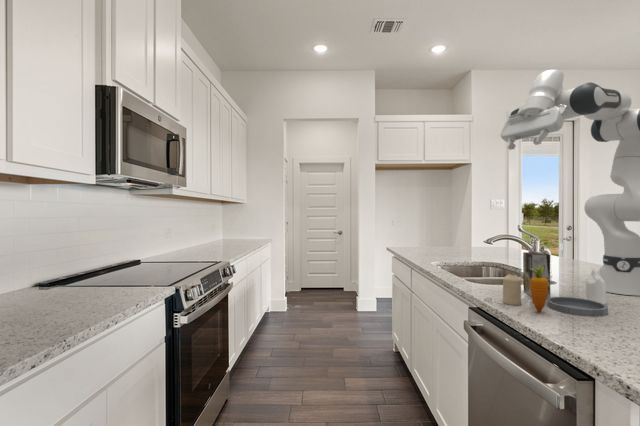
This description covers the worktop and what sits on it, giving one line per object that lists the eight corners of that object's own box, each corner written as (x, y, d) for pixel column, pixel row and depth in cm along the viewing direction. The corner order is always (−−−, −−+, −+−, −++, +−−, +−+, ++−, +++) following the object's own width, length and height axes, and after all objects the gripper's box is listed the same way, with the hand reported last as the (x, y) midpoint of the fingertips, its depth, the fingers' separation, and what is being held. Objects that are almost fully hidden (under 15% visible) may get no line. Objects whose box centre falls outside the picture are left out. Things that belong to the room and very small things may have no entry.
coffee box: (550, 298, 128) (550, 254, 128) (531, 297, 129) (531, 254, 129) (540, 292, 137) (540, 251, 137) (522, 291, 138) (522, 251, 138)
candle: (499, 301, 124) (499, 273, 124) (514, 300, 124) (514, 273, 124) (509, 305, 118) (509, 276, 118) (524, 305, 119) (524, 276, 119)
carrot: (542, 315, 107) (542, 267, 107) (526, 311, 111) (526, 265, 111) (551, 313, 109) (551, 266, 109) (535, 309, 114) (535, 264, 113)
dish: (550, 300, 125) (550, 294, 125) (607, 307, 115) (607, 301, 115) (544, 310, 113) (544, 304, 113) (608, 319, 103) (608, 313, 103)
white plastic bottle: (608, 270, 117) (587, 269, 120) (608, 305, 118) (587, 303, 120) (603, 267, 123) (584, 266, 125) (603, 301, 123) (584, 299, 125)
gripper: (574, 108, 109) (560, 145, 106) (515, 123, 128) (503, 155, 125) (562, 97, 107) (548, 134, 104) (505, 114, 126) (491, 146, 123)
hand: (523, 146), depth 115 cm, fingers open, 8 cm apart
